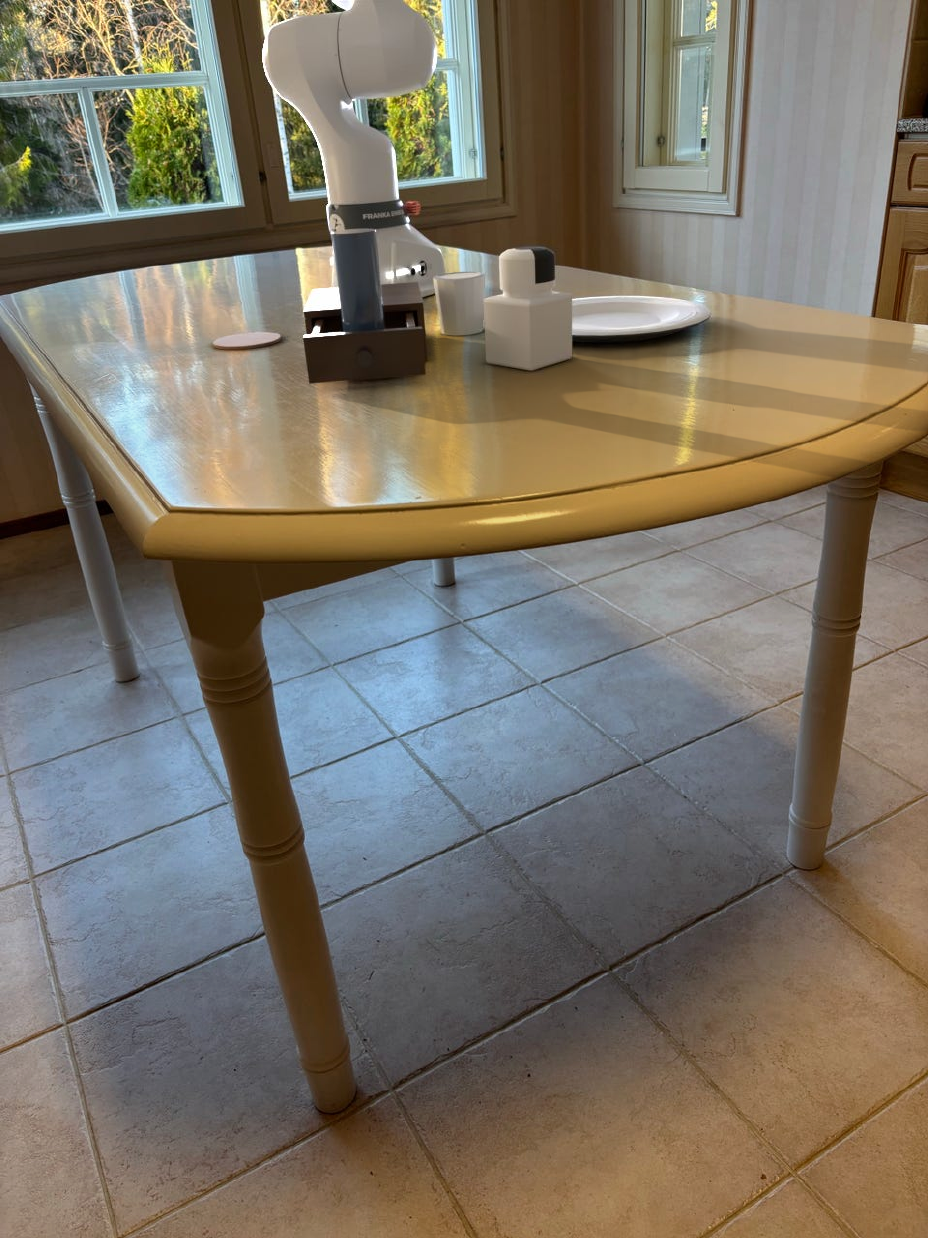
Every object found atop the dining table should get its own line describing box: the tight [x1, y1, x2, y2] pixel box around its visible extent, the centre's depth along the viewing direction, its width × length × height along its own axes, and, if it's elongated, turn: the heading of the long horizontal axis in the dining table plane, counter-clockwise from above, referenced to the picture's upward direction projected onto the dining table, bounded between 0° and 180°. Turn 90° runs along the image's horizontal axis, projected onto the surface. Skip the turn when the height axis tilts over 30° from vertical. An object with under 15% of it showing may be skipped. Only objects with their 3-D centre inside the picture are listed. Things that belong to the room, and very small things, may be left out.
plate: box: [572, 295, 712, 344], centre depth 115 cm, size 25×25×2 cm
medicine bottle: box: [483, 246, 573, 372], centre depth 99 cm, size 7×7×12 cm
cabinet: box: [302, 282, 428, 362], centre depth 110 cm, size 16×14×7 cm
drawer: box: [302, 311, 427, 384], centre depth 100 cm, size 16×12×5 cm
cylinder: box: [331, 229, 385, 332], centre depth 96 cm, size 5×5×13 cm
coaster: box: [212, 331, 282, 351], centre depth 120 cm, size 9×9×1 cm
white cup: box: [433, 271, 486, 336], centre depth 117 cm, size 7×7×7 cm
